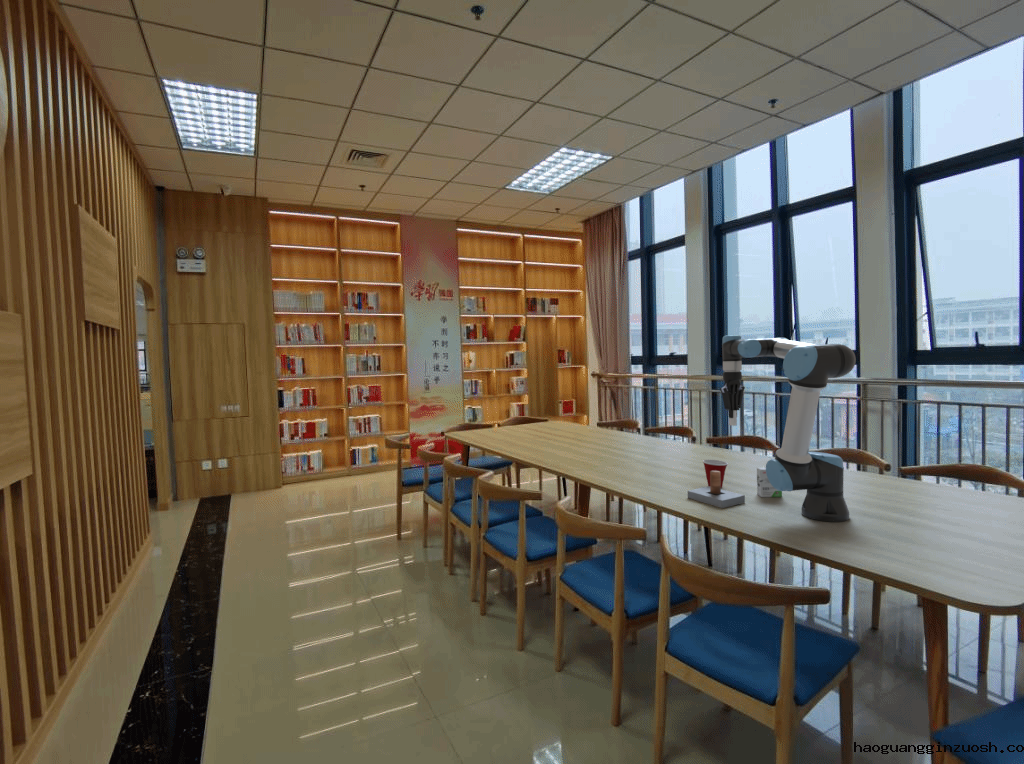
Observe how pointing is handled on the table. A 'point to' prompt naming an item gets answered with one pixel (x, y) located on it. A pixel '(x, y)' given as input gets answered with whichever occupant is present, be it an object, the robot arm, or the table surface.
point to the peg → (715, 483)
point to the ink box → (765, 485)
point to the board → (716, 497)
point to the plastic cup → (715, 468)
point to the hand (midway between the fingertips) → (733, 425)
